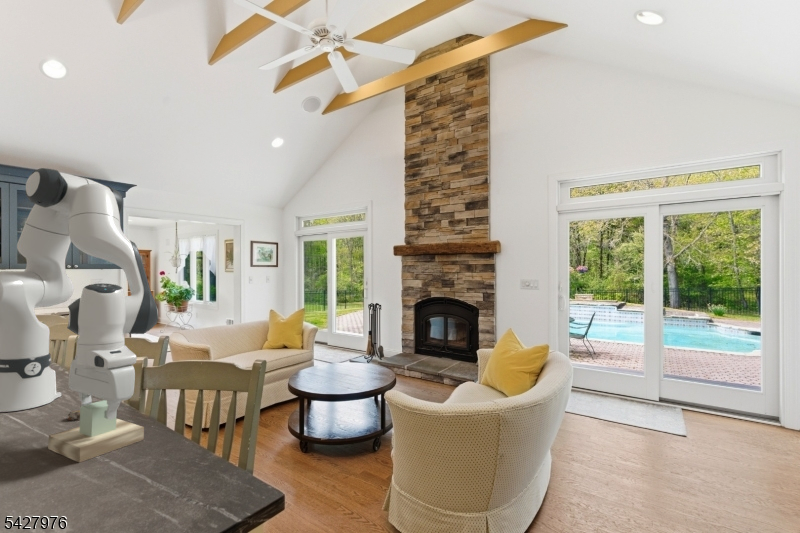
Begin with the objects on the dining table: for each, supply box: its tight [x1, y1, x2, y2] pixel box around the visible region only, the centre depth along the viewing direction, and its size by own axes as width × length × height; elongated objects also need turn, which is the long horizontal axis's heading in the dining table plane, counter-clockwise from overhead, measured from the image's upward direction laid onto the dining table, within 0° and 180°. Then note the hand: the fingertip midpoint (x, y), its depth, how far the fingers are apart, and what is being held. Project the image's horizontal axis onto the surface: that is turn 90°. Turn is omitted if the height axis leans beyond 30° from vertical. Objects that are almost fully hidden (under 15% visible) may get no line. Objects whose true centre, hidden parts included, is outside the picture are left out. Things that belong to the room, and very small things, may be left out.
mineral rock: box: [67, 409, 80, 422], centre depth 109 cm, size 11×4×8 cm
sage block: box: [79, 399, 117, 437], centre depth 91 cm, size 5×5×6 cm
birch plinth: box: [47, 417, 145, 463], centre depth 91 cm, size 13×13×3 cm
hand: (98, 414), depth 91 cm, fingers open, 8 cm apart
